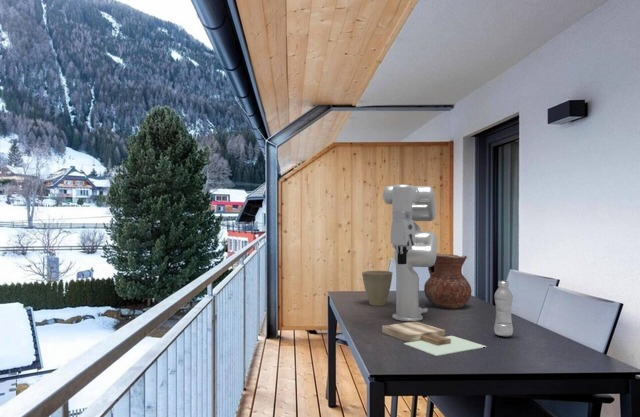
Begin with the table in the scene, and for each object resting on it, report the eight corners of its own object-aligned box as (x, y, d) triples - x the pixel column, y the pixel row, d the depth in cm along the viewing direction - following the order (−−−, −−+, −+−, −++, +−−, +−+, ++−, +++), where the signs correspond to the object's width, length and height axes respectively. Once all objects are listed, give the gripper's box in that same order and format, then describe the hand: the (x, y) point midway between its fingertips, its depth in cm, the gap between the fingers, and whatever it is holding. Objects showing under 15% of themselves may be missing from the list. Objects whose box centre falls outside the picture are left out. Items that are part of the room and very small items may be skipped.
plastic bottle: (512, 334, 177) (512, 280, 178) (513, 339, 171) (513, 282, 171) (494, 333, 179) (493, 279, 180) (494, 337, 173) (494, 282, 173)
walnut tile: (434, 338, 171) (434, 333, 171) (450, 343, 164) (450, 338, 164) (421, 340, 168) (421, 335, 168) (437, 345, 161) (437, 341, 161)
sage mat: (451, 336, 174) (451, 335, 174) (486, 347, 160) (486, 346, 160) (403, 344, 164) (403, 343, 164) (436, 356, 150) (436, 355, 150)
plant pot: (371, 300, 246) (371, 269, 247) (397, 304, 238) (397, 271, 238) (356, 305, 234) (356, 272, 234) (383, 308, 226) (383, 274, 226)
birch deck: (415, 327, 188) (415, 321, 188) (444, 337, 173) (444, 330, 174) (382, 332, 180) (382, 325, 180) (409, 342, 166) (409, 335, 166)
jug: (476, 305, 236) (476, 254, 236) (464, 312, 218) (464, 257, 218) (432, 300, 247) (432, 252, 248) (417, 307, 230) (417, 254, 230)
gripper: (422, 216, 181) (422, 265, 181) (397, 216, 194) (397, 261, 194) (406, 216, 178) (406, 266, 178) (382, 216, 191) (382, 262, 191)
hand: (402, 263), depth 186 cm, fingers closed
